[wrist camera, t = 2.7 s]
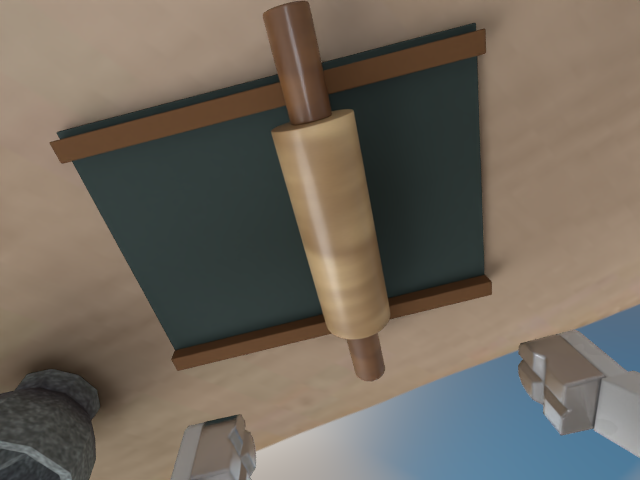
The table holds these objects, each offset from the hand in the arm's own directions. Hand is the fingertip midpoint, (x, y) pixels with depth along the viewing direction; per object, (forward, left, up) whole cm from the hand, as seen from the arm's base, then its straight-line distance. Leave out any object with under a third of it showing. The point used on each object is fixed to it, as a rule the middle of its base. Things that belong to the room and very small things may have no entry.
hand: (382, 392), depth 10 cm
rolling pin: (0, 0, -15) cm, 15 cm away
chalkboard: (+2, 0, -15) cm, 15 cm away
